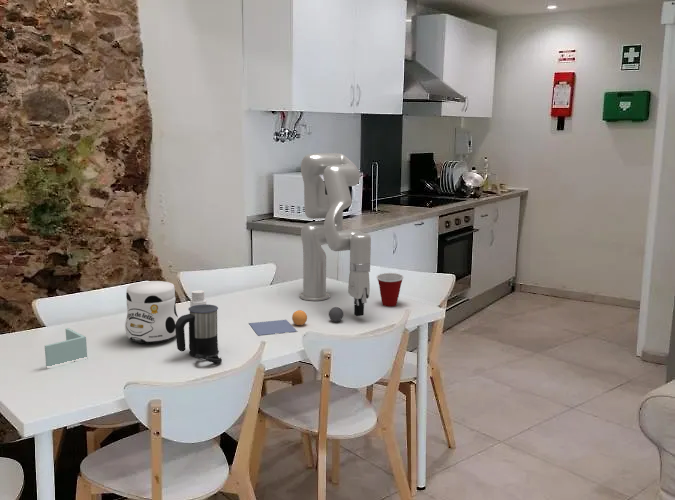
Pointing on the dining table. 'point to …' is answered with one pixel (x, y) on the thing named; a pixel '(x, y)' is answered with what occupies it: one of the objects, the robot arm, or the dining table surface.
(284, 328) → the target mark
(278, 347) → the dining table surface
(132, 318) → the milk container
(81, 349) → the right angle wall
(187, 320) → the milk frother
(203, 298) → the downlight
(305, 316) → the orange ball
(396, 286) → the plastic cup
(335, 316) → the gray ball
